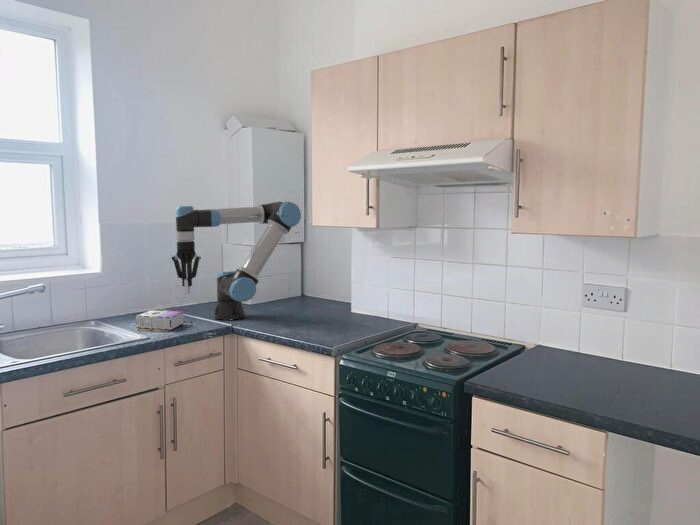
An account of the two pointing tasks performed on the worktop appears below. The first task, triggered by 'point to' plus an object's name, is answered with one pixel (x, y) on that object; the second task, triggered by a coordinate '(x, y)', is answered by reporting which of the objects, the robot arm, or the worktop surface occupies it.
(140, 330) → the beech board
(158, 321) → the candy box
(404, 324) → the worktop surface
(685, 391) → the worktop surface
